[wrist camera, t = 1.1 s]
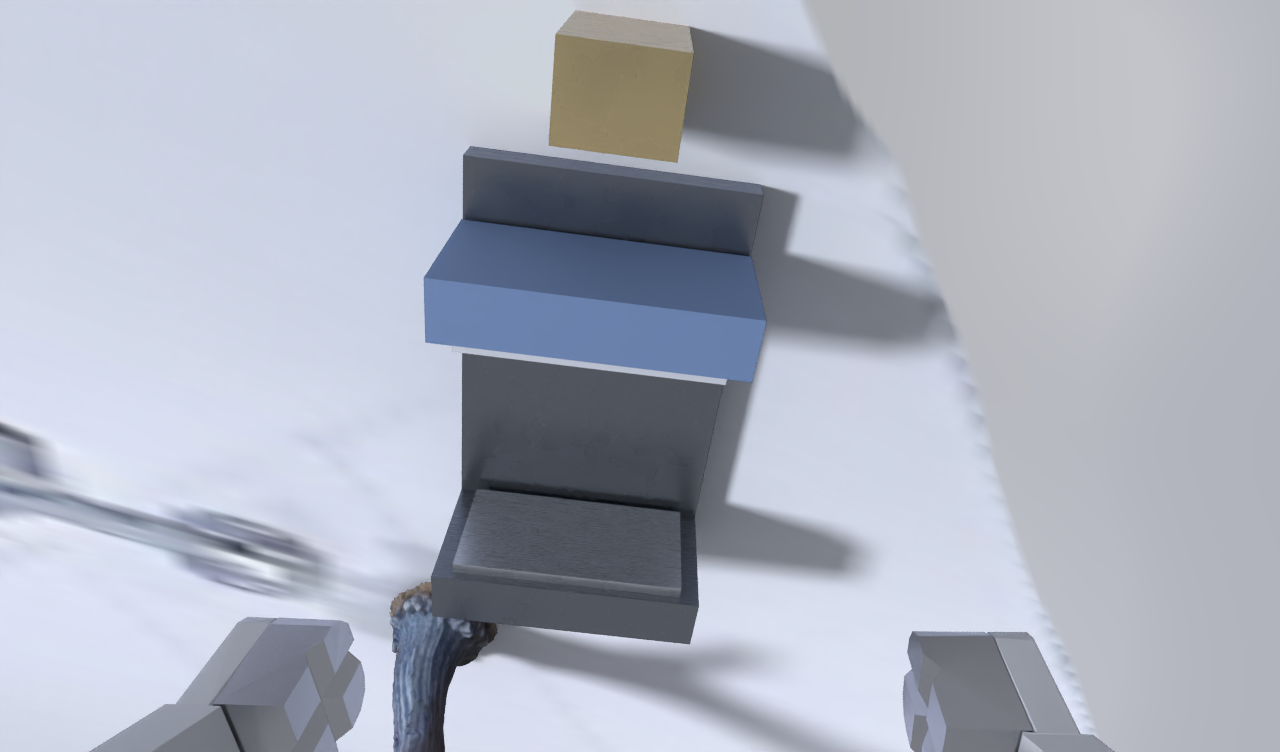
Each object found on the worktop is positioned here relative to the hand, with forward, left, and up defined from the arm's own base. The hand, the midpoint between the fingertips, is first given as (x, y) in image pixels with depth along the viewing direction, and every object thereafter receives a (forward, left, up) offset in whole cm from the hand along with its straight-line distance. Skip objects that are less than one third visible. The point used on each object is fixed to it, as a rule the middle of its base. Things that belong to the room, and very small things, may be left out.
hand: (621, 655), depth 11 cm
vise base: (+13, -2, -29) cm, 32 cm away
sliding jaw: (+7, -2, -28) cm, 28 cm away
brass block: (-3, -2, -30) cm, 30 cm away
